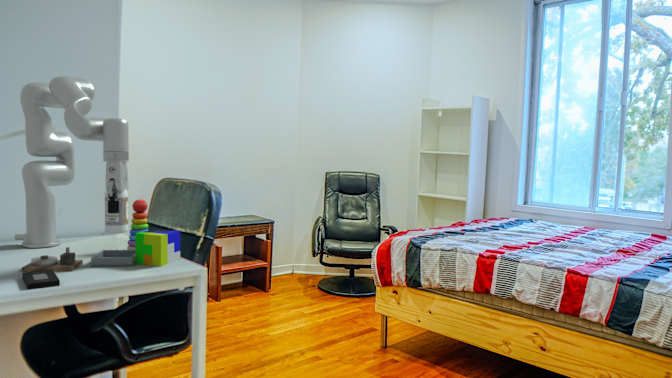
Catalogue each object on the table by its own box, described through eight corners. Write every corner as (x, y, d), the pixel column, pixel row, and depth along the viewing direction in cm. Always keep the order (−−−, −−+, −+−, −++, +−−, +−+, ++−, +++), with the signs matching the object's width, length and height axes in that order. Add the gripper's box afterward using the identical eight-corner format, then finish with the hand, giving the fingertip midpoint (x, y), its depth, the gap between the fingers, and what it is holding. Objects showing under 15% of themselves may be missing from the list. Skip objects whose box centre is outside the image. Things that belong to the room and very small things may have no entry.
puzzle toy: (180, 260, 171) (180, 231, 170) (160, 266, 161) (160, 235, 161) (155, 257, 174) (155, 228, 173) (135, 263, 165) (135, 233, 164)
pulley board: (21, 271, 150) (21, 251, 150) (35, 264, 160) (35, 244, 159) (72, 271, 152) (71, 250, 152) (82, 263, 162) (82, 244, 162)
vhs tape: (52, 275, 148) (52, 269, 148) (59, 287, 137) (59, 280, 137) (22, 279, 144) (22, 272, 144) (27, 291, 132) (27, 283, 132)
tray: (91, 266, 158) (91, 257, 158) (102, 258, 170) (102, 250, 170) (132, 266, 161) (132, 257, 160) (140, 257, 173) (140, 249, 172)
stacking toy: (142, 253, 180) (142, 201, 179) (122, 251, 182) (122, 200, 180) (154, 249, 188) (154, 199, 186) (135, 247, 189) (135, 198, 188)
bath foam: (127, 233, 163) (127, 171, 161) (104, 233, 160) (103, 171, 159) (128, 229, 169) (128, 170, 168) (106, 230, 167) (105, 170, 165)
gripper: (121, 157, 155) (122, 215, 156) (134, 156, 172) (134, 208, 173) (95, 157, 154) (96, 215, 155) (111, 156, 171) (111, 208, 172)
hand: (116, 211), depth 164 cm, fingers closed on bath foam, 7 cm apart
